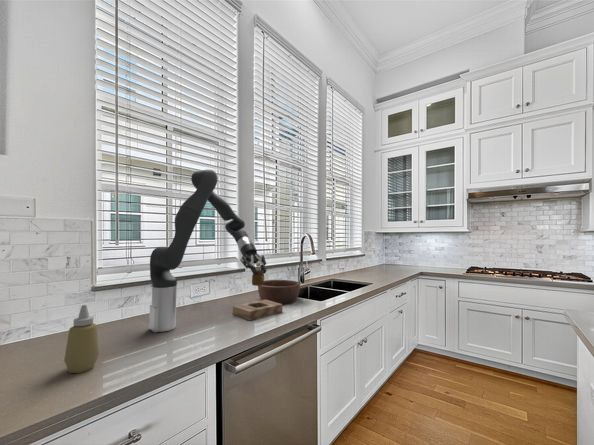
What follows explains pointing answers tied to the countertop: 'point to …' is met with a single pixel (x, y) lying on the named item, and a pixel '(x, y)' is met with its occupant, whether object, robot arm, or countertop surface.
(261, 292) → the wooden bowl
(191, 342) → the countertop surface
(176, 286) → the robot arm
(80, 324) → the squeeze bottle
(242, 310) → the wooden block with hole
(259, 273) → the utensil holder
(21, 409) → the countertop surface
